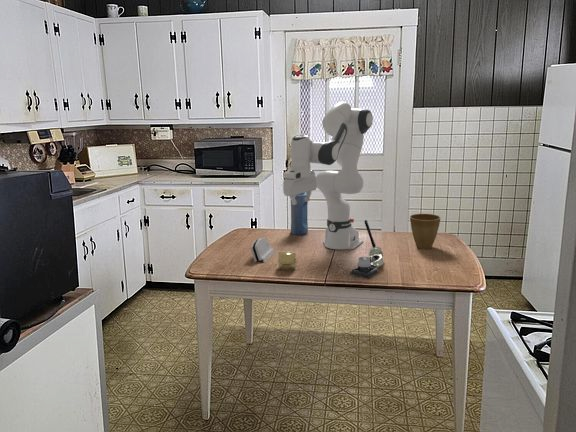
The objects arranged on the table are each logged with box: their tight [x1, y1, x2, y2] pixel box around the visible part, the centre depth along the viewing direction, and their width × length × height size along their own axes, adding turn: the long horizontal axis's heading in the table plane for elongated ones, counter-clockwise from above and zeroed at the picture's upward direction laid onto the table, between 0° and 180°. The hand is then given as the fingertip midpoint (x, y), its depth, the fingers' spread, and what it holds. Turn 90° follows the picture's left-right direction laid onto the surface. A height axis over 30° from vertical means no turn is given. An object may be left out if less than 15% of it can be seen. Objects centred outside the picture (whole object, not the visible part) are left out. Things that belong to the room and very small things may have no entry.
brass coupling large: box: [277, 250, 297, 272], centre depth 220 cm, size 8×8×7 cm
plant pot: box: [409, 213, 441, 250], centre depth 247 cm, size 15×15×16 cm
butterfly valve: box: [364, 219, 385, 269], centre depth 221 cm, size 9×20×17 cm
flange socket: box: [349, 266, 380, 280], centre depth 212 cm, size 9×9×2 cm
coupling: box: [357, 256, 371, 273], centre depth 211 cm, size 6×6×6 cm
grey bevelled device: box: [250, 237, 275, 263], centre depth 237 cm, size 17×5×10 cm, turn 164°
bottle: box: [290, 192, 309, 236], centre depth 275 cm, size 10×10×30 cm
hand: (300, 202), depth 219 cm, fingers open, 8 cm apart
